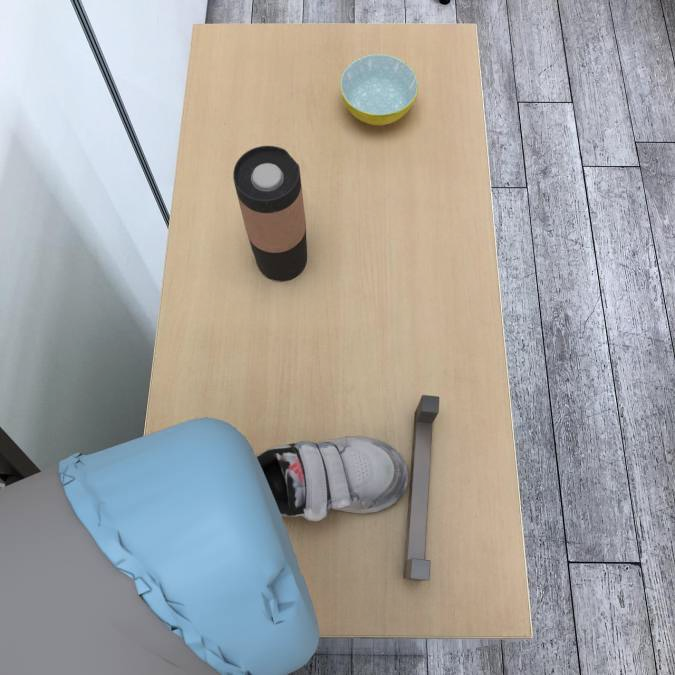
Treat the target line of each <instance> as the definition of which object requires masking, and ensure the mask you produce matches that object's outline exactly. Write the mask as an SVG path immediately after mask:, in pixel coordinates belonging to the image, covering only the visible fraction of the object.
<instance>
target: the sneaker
mask: <svg viewBox="0 0 675 675" xmlns="http://www.w3.org/2000/svg"><path fill="white" fill-rule="evenodd" d="M256 457H257V459H258V461H259V463H260V466H261V468H262V470H263V473H264V475H265V477H266V479H267V482H268V484H269V487H270V489H271V491H272V494H273V496H274V499H275V501H276V503H277V506H278V509H279V511H280V514H281V516H282V517H287V518H293V517H302V518H304V519H305V520H307V521H309V522H319V521H320V522H321V520H323V519H324V518H325V517H327V516H328V514H329V510H333V511H339V512H345V513H351V514H352V513H354V514H373V513H378V512H382V511H383V510H386V509H388V508H390V507H392V506H394V505H395V504H397V503H398V502H399V501H400V500H401V499H402V497H403V496H404V494H405V493H406V490H407V488H408V485H409V477H408V476H409V474H408V473H409V472H408V467H407V465H406V462H405V460H404V459H403V457H402V455H401V454H400V453H399V452H398V451H397V449H396V448H393V447H392V446H391V445H389V443H386V442H384V441H382V440H379V439H376V438H372V437H369V436H368V437H367V436H363V435H348V436H347V435H346V436H341V437H338V438H331V439H327V440H326V439H325V440H324V441H318V442H313V441H309V440H305V441H304V440H302V441H299V442H296V443H294V442H292V443H288V444H285V445H278V446H273V447H270V448H267V449H266V450H264V451H263V452H261V453H260V454H258V455H256Z"/></svg>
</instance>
